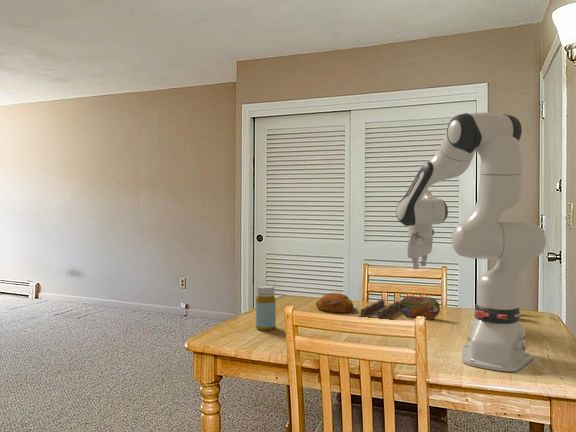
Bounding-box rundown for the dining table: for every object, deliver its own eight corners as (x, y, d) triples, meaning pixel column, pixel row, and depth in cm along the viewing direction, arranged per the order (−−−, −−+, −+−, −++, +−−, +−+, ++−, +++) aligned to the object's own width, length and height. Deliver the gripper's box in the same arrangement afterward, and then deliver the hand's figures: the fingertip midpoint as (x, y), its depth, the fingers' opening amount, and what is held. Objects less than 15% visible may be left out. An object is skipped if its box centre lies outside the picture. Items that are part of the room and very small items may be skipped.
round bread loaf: (344, 320, 186) (346, 301, 185) (310, 310, 194) (312, 291, 193) (359, 312, 198) (361, 294, 197) (326, 303, 206) (328, 285, 205)
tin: (399, 316, 183) (399, 295, 182) (401, 314, 186) (401, 293, 185) (439, 321, 176) (439, 298, 175) (440, 319, 179) (440, 297, 178)
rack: (382, 321, 175) (382, 312, 175) (358, 318, 180) (358, 309, 180) (402, 310, 194) (402, 301, 193) (379, 307, 199) (379, 299, 199)
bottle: (273, 331, 162) (272, 288, 161) (253, 330, 163) (253, 287, 163) (277, 326, 169) (277, 285, 168) (258, 325, 170) (258, 284, 170)
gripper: (420, 233, 169) (419, 271, 170) (435, 230, 186) (435, 264, 187) (403, 233, 173) (403, 270, 173) (419, 230, 190) (419, 263, 190)
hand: (419, 267), depth 180 cm, fingers open, 8 cm apart
